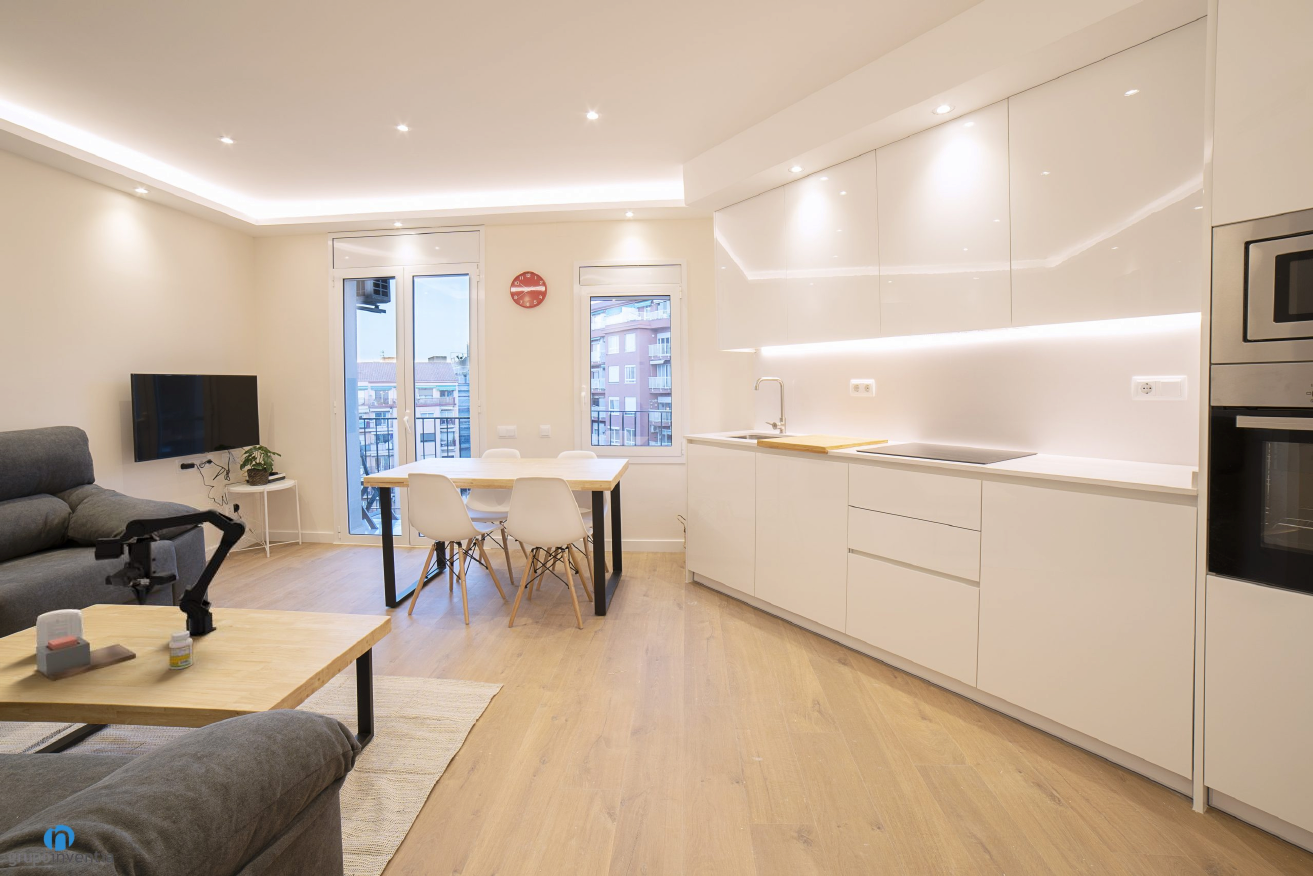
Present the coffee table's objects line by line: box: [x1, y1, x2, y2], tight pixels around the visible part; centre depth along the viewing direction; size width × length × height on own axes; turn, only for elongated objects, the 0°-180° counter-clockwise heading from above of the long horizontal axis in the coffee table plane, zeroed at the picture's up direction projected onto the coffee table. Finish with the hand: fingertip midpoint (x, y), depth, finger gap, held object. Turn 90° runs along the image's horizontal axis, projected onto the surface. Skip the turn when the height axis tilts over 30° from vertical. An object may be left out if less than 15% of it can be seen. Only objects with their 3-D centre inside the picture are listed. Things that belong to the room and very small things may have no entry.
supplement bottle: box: [168, 630, 194, 670], centre depth 171 cm, size 5×5×10 cm
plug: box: [48, 635, 78, 651], centre depth 169 cm, size 5×5×6 cm
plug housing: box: [35, 637, 91, 675], centre depth 169 cm, size 9×9×6 cm
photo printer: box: [35, 608, 84, 647], centre depth 182 cm, size 10×4×12 cm, turn 123°
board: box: [36, 643, 137, 682], centre depth 173 cm, size 18×14×1 cm
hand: (142, 604), depth 189 cm, fingers closed
